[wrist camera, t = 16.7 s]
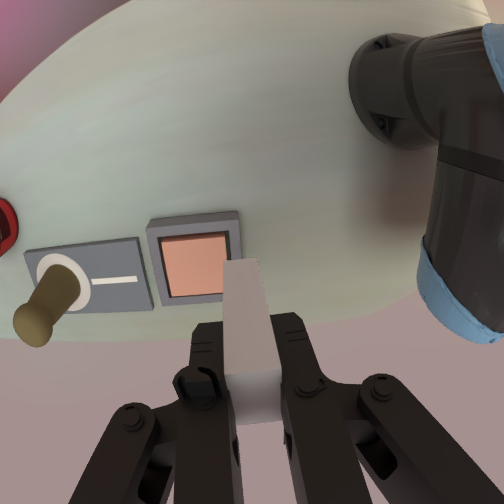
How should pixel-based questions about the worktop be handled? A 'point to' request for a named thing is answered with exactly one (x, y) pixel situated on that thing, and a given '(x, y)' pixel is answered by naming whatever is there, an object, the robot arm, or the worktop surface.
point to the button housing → (189, 226)
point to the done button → (195, 262)
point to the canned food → (7, 226)
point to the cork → (46, 305)
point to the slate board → (99, 274)
